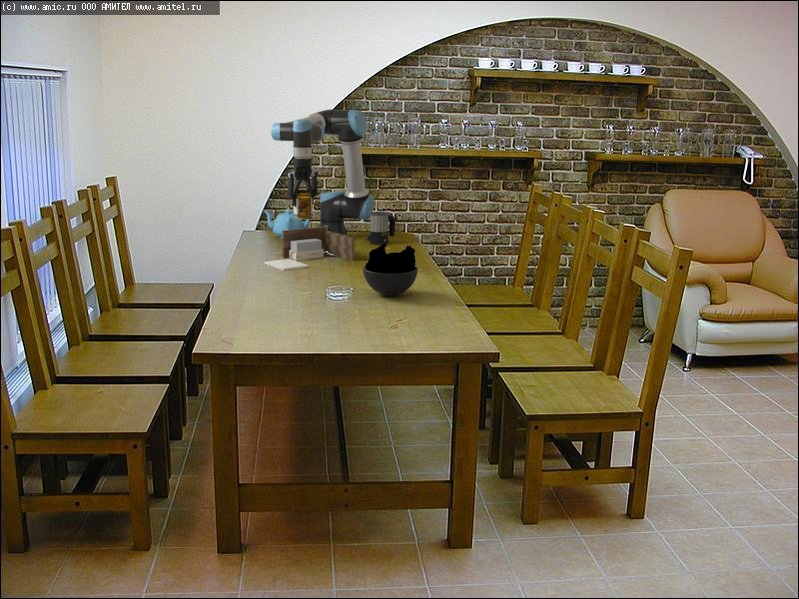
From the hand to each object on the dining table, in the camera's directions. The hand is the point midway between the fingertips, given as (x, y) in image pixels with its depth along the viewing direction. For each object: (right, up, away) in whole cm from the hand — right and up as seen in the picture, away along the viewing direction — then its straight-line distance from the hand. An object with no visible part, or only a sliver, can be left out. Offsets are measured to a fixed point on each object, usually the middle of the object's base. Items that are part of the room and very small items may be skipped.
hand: (302, 213), depth 362 cm
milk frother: (+29, -8, +58) cm, 66 cm away
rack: (+5, -19, +15) cm, 25 cm away
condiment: (0, -2, +1) cm, 2 cm away
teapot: (-14, -6, +65) cm, 67 cm away
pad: (-7, -22, +1) cm, 23 cm away
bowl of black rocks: (+37, -35, -47) cm, 69 cm away
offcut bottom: (0, -18, +18) cm, 26 cm away
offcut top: (-1, -14, +17) cm, 22 cm away
